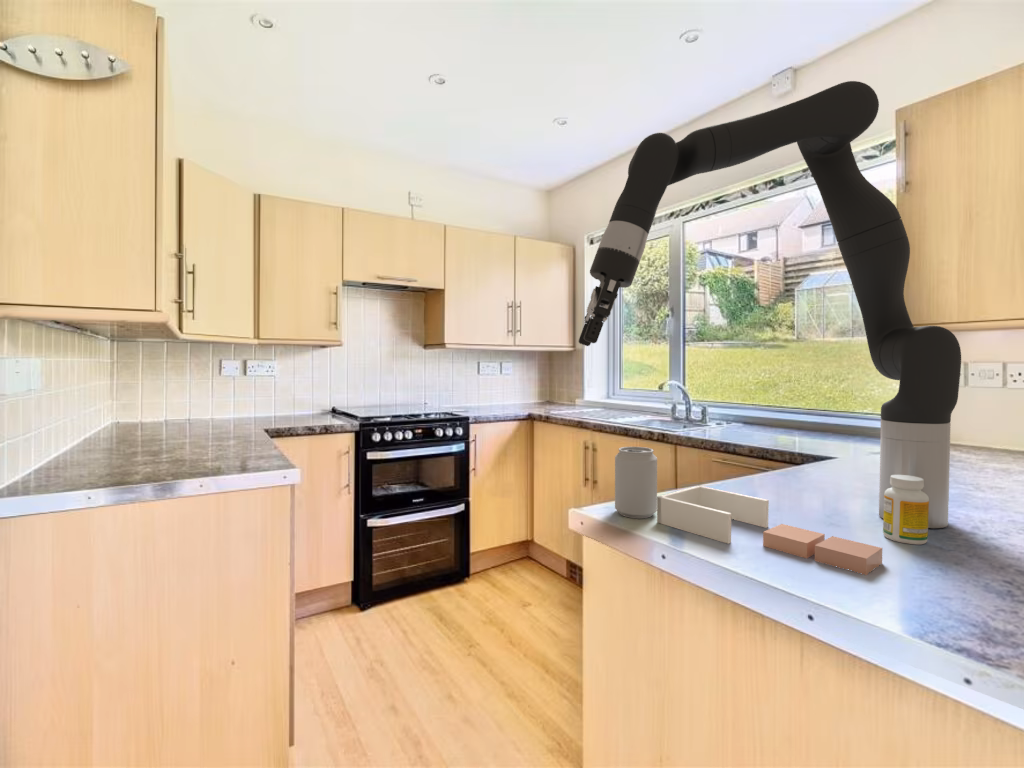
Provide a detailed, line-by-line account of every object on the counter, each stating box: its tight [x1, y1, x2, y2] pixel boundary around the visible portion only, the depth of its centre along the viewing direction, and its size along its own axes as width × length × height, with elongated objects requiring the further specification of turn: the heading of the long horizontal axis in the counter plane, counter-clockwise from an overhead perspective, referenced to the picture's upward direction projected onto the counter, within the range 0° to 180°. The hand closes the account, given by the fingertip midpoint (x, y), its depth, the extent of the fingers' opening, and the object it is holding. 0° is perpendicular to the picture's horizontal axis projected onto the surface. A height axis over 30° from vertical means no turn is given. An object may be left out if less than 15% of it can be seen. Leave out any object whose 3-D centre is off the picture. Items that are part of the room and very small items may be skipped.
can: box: [614, 446, 658, 519], centre depth 89 cm, size 8×8×12 cm
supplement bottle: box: [882, 475, 929, 545], centre depth 75 cm, size 5×5×10 cm
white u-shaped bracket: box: [656, 484, 770, 545], centre depth 82 cm, size 13×13×4 cm
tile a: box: [762, 523, 826, 559], centre depth 72 cm, size 6×6×2 cm
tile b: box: [814, 535, 883, 576], centre depth 66 cm, size 6×6×2 cm
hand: (586, 343), depth 84 cm, fingers open, 8 cm apart
